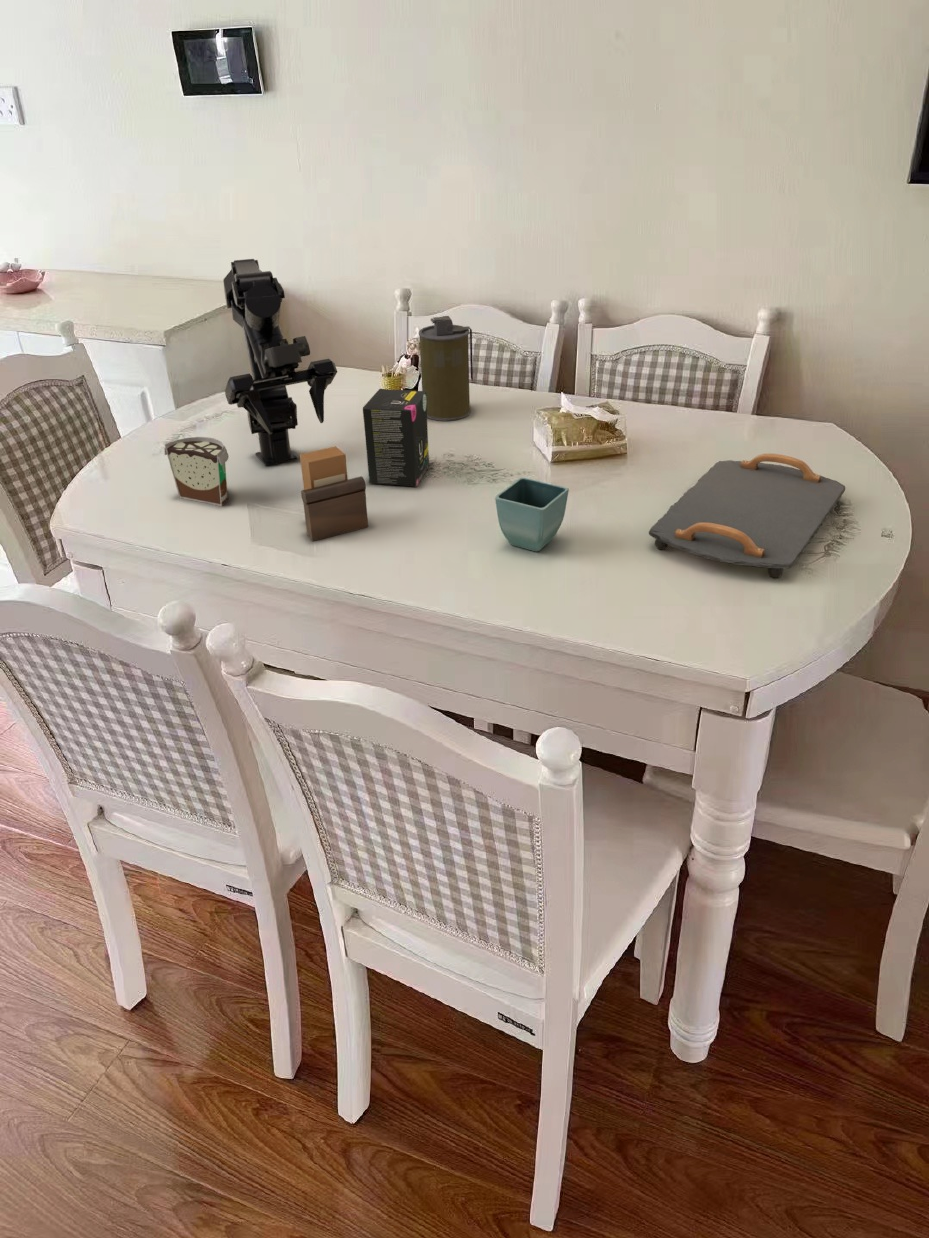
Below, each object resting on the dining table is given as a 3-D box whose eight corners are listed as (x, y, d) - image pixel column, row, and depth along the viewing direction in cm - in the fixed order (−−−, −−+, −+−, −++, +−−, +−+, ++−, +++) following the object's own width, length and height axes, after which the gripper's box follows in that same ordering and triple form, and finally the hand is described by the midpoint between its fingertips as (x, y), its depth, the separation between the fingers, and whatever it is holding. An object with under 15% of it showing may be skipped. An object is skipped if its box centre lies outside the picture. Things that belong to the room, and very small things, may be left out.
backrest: (306, 536, 159) (300, 488, 155) (363, 521, 163) (359, 474, 159) (311, 541, 158) (305, 493, 153) (369, 526, 162) (365, 479, 157)
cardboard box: (308, 523, 163) (299, 454, 157) (342, 514, 166) (336, 446, 159) (316, 532, 160) (308, 462, 154) (352, 523, 163) (345, 454, 156)
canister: (426, 423, 202) (422, 327, 191) (418, 406, 210) (414, 313, 200) (477, 418, 203) (476, 322, 193) (467, 402, 212) (465, 309, 201)
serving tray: (783, 592, 140) (789, 554, 137) (635, 554, 151) (638, 519, 148) (849, 493, 168) (856, 460, 165) (721, 468, 179) (725, 436, 175)
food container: (249, 493, 174) (241, 441, 169) (228, 507, 169) (219, 454, 164) (194, 483, 178) (184, 432, 173) (172, 496, 174) (162, 444, 168)
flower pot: (542, 561, 150) (543, 509, 145) (493, 548, 154) (493, 496, 149) (568, 538, 156) (570, 487, 152) (520, 526, 160) (521, 476, 156)
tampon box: (417, 488, 174) (412, 410, 166) (367, 484, 176) (361, 407, 168) (431, 464, 183) (427, 389, 176) (384, 461, 185) (378, 387, 177)
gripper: (220, 330, 154) (251, 421, 153) (329, 312, 162) (359, 399, 161) (212, 360, 164) (241, 445, 164) (315, 341, 172) (343, 423, 171)
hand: (297, 427), depth 164 cm, fingers open, 9 cm apart
